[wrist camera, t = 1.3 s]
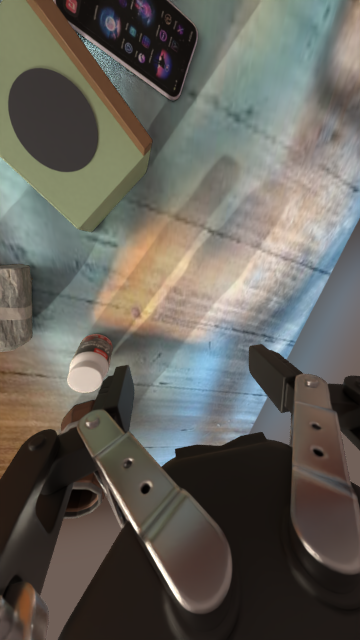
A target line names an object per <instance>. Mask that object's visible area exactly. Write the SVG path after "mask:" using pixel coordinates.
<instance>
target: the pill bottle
mask: <svg viewBox="0 0 360 640" xmlns="http://www.w3.org/2000/svg"><path fill="white" fill-rule="evenodd" d="M112 350H113V346H112V343H111V341H110V340H109V339H108V338H107V337H105V336H103V335H100V334H92V335H89V336H87V337H85V338H84V339H83V340H82V342H81V343H80V346H79V347H78V349H77V351H76V353H75V355H74V357H73V359H72V361H71V363H70V367H69V369H70V372H69V375H68V377H67V382H68V384H69V386H70V387H71V388H72V389H73V390H75V391H77V392H81V393H88V392H92V391H95V390H96V389H98V388H99V387H100V386H101V384H102V381H103V378H104V377H105V376H106V375H107V373H108V370H109V365H110V360H111V355H112Z"/></svg>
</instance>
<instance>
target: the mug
mask: <svg viewBox="0 0 360 640" xmlns="http://www.w3.org/2000/svg"><path fill="white" fill-rule="evenodd" d="M94 403H95V401H94V400H92V401H89V402H86V403H82V404H79V405H75V406H74V407H73V408H72V409H71V410H70V411H69V412H68V414H67V415H66V416H65V417H64V419H63V421H62V424H61V431H62V432H61V433H60V434H62V433H65V432H67V431H70V430H72V429H74V428H76V427H77V424H78V422H79V421H80V419H81V418H82V417H83V416H85V415H86V414H88V413H89V412H91V410H92V408H93V405H94ZM60 434H59V435H60ZM104 496H105V493H104V491H103V490H102V488H101V486H100V484H99V482H98V480H97V478H96V476H95V474H94V472H93V473H91V474H89V475H87V476H85V477H84V478H82V479H80V480H78V481H76V482H74V485H73V488H72V491H71V494H70V498H69V501H68V504H67V508H66V511H65V514H64V518H78V517H81V516H84V515H86V514H89V513H92V512H93V511H94V510H95V509H96V508H97V507H98V506H99V505H100V504H101V503H102V499H103V498H104Z"/></svg>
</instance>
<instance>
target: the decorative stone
mask: <svg viewBox="0 0 360 640" xmlns="http://www.w3.org/2000/svg"><path fill="white" fill-rule="evenodd" d="M31 280H33V279H32V278H31V275H30V266H29V265H23V264H12V265H0V352H6V351H11V350H14V349H16V348H18V347H19V346H22V345H23V344H25V343H26V342H28V341H29V340H30V339H31V338H32V333H33V332H32V324H33V323H32V298H31V292H32V282H31Z"/></svg>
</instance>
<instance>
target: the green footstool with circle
mask: <svg viewBox="0 0 360 640" xmlns="http://www.w3.org/2000/svg"><path fill="white" fill-rule="evenodd" d="M151 146H152V139H151V137H150V136H149V135H148V133H147V132H146V130H145V129H144V128H143V126H142V125H141V123H140V122H139V121H138V119H137V118H136V116H135V115H134V114H133V112H132V111H131V109H130V108H129V107H128V105H127V104H126V102H125V101H124V99H123V98H122V97H121V95H120V94H119V92H118V91H117V90H116V88H115V87H114V85H113V84H112V83H111V81H110V80H109V78H108V77H107V76H106V74H105V73H104V71H103V70H102V69H101V67H100V66H99V64H98V63H97V61H96V60H95V59H94V57H93V56H92V54H91V53H90V52H89V50H88V49H87V47H86V46H85V45H84V43H83V42H82V40H81V39H80V38H79V36H78V35H77V33H76V32H75V31H74V29H73V28H72V26H71V25H70V24H69V22H68V21H67V19H66V18H65V16H64V15H63V14H62V12H61V11H60V9H59V8H58V7H57V5H56V4H55V2H54V1H53V0H3V1H2V2H1V3H0V157H1V158H2V159H3V160H4V161H5V162H7V163H8V164H9V165H10V166H11V167H12V168H13V169H14V170H15V171H16V172H17V173H18V174H19V175H20V176H22V177H23V178H24V179H25V180H26V181H27V182H28V183H29V184H30V185H31V186H32V187H33V188H34V189H35V190H37V191H38V192H39V193H40V194H41V195H42V196H43V197H44V198H45V199H46V200H47V201H48V202H49V203H50V204H52V205H53V206H54V207H55V208H56V209H57V210H58V211H59V212H60V213H61V214H62V215H63V216H64V217H66V218H67V219H68V220H69V221H70V222H71V223H72V224H73V225H74V226H75V227H76V228H77V229H80V230H84V231H88V232H92V231H93V230H94V229H95V228H96V227H97V226H98V225H99V224H100V223H101V222H102V221H103V219H104V218H105V217H106V216H107V215H108V214H109V213H110V212H111V211H112V210H113V208H114V207H115V206H116V205H117V204H118V203H119V202H120V201H121V200H122V199H123V197H124V196H125V195H126V194H127V193H128V192H129V191H130V190H131V189H132V188H133V186H134V185H135V184H136V183H137V182H138V181H139V180H140V179H141V178H142V177H143V175H144V174H145V173H146V171H147V166H148V161H149V156H150V151H151Z"/></svg>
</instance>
